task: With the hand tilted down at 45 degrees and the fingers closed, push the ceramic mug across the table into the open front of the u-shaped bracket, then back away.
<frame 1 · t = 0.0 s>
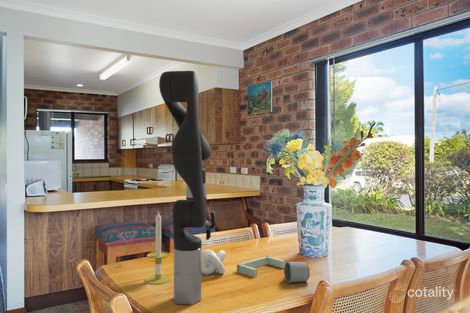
hand: (196, 239, 135), 17 cm above the table, tool pointing down, fingers open, 8 cm apart
ceramic mug: (294, 280, 141), on the table
candle: (158, 280, 140), on the table
u-shaped bracket: (268, 271, 151), on the table
white knot sculpture: (214, 273, 149), on the table
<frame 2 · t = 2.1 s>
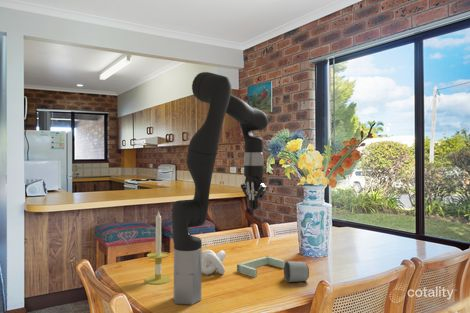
hand: (253, 209, 139), 28 cm above the table, tool pointing down, fingers closed
nothing on the table moved.
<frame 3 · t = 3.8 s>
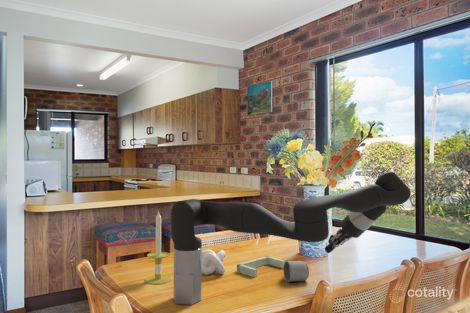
hand: (327, 250, 130), 14 cm above the table, tool tilted 45°, fingers closed
nothing on the table moved.
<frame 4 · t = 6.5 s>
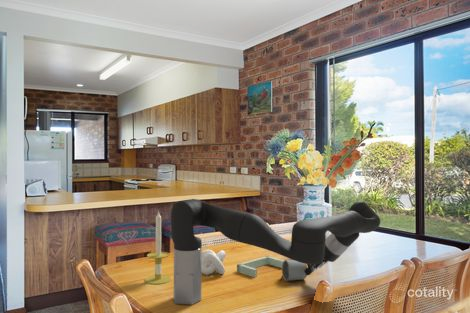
hand: (306, 273, 138), 4 cm above the table, tool tilted 45°, fingers closed
ceramic mug: (292, 279, 143), on the table, touching gripper
everything else where it was.
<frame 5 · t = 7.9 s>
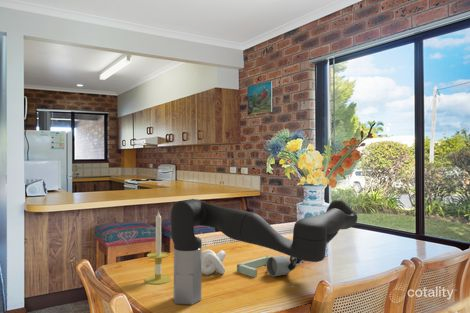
hand: (290, 268, 144), 3 cm above the table, tool tilted 45°, fingers closed
ceramic mug: (276, 274, 148), on the table, touching gripper
everything else where it was.
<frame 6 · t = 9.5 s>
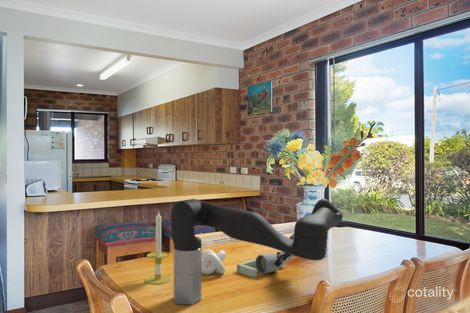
hand: (276, 264, 148), 4 cm above the table, tool tilted 45°, fingers closed
ceramic mug: (265, 272, 152), on the table
everything else where it was.
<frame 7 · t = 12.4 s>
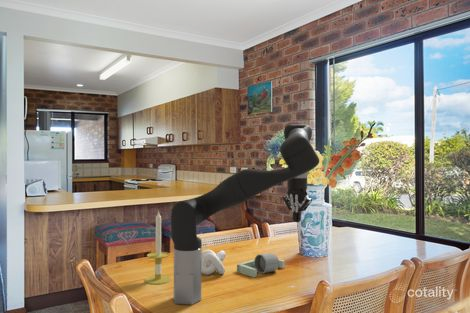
hand: (296, 221, 139), 23 cm above the table, tool pointing down, fingers closed
nothing on the table moved.
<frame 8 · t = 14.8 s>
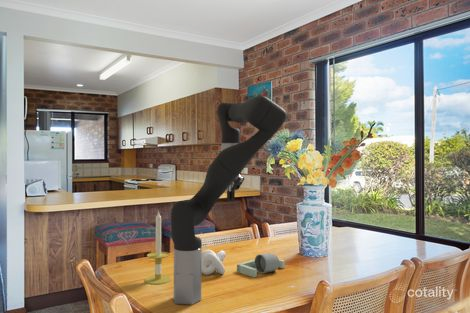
hand: (230, 200, 138), 31 cm above the table, tool pointing down, fingers closed
nothing on the table moved.
at the end: ceramic mug 2.0 cm from the u-shaped bracket (horizontally); ceramic mug tilted 0°; ceramic mug moved 15.9 cm from its start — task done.
